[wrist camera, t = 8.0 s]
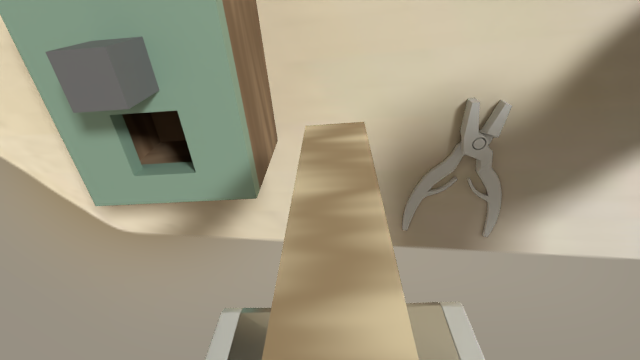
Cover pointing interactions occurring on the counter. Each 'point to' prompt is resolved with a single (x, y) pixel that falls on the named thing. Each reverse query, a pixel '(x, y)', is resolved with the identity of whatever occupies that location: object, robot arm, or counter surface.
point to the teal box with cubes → (139, 92)
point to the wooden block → (338, 259)
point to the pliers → (475, 147)
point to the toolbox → (245, 36)
